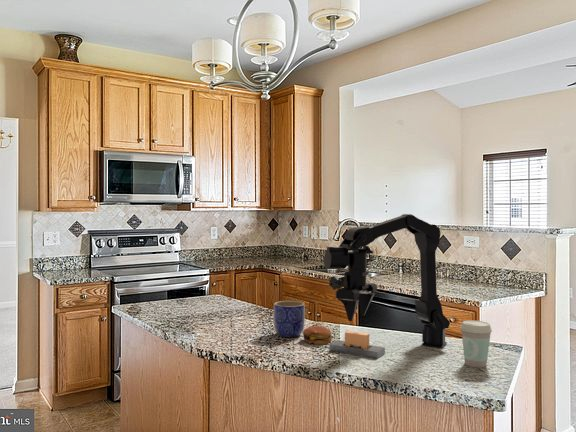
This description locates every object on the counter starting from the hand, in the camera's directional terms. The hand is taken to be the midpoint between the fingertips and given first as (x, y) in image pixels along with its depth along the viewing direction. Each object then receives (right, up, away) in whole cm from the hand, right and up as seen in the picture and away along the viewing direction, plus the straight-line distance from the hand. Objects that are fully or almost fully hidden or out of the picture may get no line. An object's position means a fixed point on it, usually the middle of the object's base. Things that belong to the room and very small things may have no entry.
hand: (356, 318), depth 159 cm
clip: (0, -11, 0) cm, 11 cm away
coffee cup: (+33, -11, -12) cm, 37 cm away
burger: (-11, -11, +13) cm, 21 cm away
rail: (0, -11, 0) cm, 11 cm away
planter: (-21, -10, +21) cm, 32 cm away
